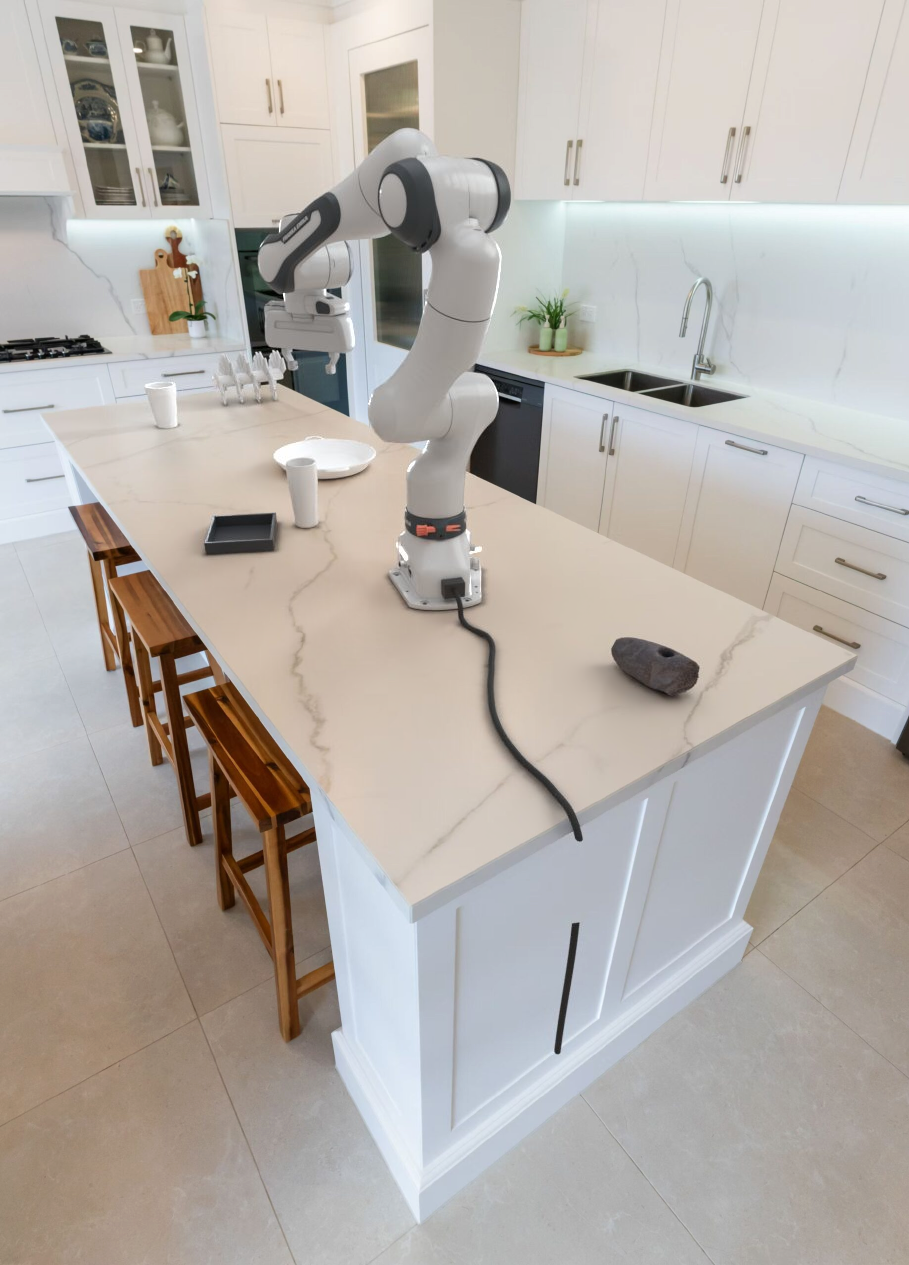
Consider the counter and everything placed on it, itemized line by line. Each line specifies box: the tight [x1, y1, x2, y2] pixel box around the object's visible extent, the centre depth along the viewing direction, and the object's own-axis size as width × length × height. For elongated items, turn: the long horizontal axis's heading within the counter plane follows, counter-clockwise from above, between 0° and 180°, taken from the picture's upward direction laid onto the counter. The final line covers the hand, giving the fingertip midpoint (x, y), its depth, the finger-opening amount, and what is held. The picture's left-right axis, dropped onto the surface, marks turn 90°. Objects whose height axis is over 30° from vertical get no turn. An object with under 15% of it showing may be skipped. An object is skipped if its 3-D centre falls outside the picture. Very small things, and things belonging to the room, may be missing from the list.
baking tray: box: [203, 512, 278, 556], centre depth 164 cm, size 16×14×3 cm
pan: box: [272, 435, 377, 480], centre depth 207 cm, size 34×28×4 cm
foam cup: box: [144, 381, 178, 429], centre depth 239 cm, size 10×9×13 cm
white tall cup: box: [285, 457, 319, 529], centre depth 168 cm, size 7×7×15 cm
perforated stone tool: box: [610, 636, 701, 697], centre depth 116 cm, size 15×5×7 cm, turn 40°
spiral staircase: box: [211, 349, 287, 406], centre depth 267 cm, size 18×18×25 cm
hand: (311, 371), depth 160 cm, fingers open, 8 cm apart
